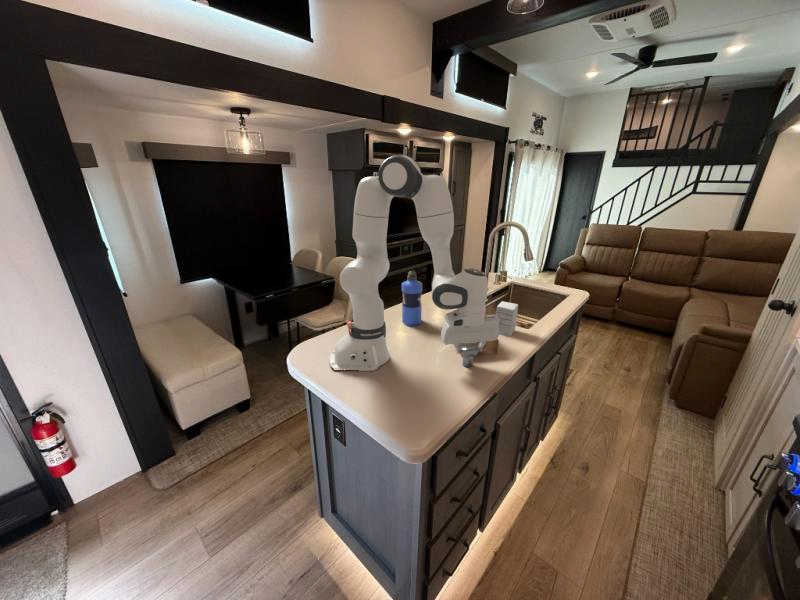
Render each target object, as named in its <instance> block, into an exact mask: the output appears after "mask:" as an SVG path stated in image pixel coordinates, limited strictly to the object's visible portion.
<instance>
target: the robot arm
mask: <svg viewBox="0 0 800 600" xmlns="http://www.w3.org/2000/svg"><path fill="white" fill-rule="evenodd" d="M377 175H378V176H373V175H371V176H366V177H364V178H362V179H360V181H359V183H358V185H357V188H356V194H355V198H354V207H353V218H352V219H353V221H352V233H351V234H352V239H353V240H354V242H355V246H356V251H357V255H356V258H355V259H354V260H352V261H350V262H349V263H347V264H346V265H345V267H344V268H343V270H341V272H340V275H339V284H340V286H341V288H342V289H343V291H345V292H346V293H347V294H348V297H349V299H350V302H351V307H352V317H353V319H352V320H353V321H351V320H349V321H347V323H346V325H347V326H346V327H347V329H348V330H347V331H348V332H347V333H346V334H345V335H344V336H342V338H339V340H337V342H336V345H335V347H334V350H333V351H331V353H330V355H329V362H330V364H329V366H330V365H331V367H332V368H333V369H340V370H341V369H342V370H344V369H345V370H359V371H358V372H361V371H362V372H372V371H376V370H377V369H378V368H379V367H380V366H382V365H384V364H385V363H387V362H388V361H389V359H390V357H391V355H390V352H389V349H388V346H387V341H386V339H387V338H386V337H387V325H386V320H385V305H384V301H383V299H381V297H380V294H379V283H380V282H382V281H383V280H384V279H385V278H386V276H387V274H388V273H389V270H390V266H391V265H390V261H389V258H388V249H387V248H388V247H387V236H388V234H387V233H388V224H389V218H390V217H389V215H390V207H391V202H392V199H393V198H395V197H396V198H406V199H411V200H412V201H413V203H414V207H415V212H416V219H417V223H418V227H419V230H420V235H421V236H422V239H423V240H424V241H425V242H426V243H427V245H428V247H429V248H430V252H431V257H432V264H433V277H432V279H431V299H432V302H433V304H434V305H435V307H437V308H439V309H441V310H452V311H450V312H447V313H445V314H444V320H445V321H444V322H443V323H442V325H441V330H440V331H441V332H440V339H441V342H442V343H443V344H444V345H453V344H454V345H453V346H454V347H455V353H456V354H458V355H460V354H461V349H460V347H457V346H459V343H468V342H479V341H481V342H480V344H479V345H476V346H477V347H478V352H480V351H482V347H483V346H484V345H485V344H486V341H489V340H496V339H499V335H500V334H499V326H498V324H499V320H500V318H499V316H497V315H496V313H493V314H486V308H487V307H486V302H487V301H486V300H487V297H488V278H487V276H486V274H485V273H484V272H483V271H481V270H479V269H475V268H465V269H464V270H462V271H461V272H459V273H457V274H456V272H455V271H454V269H453V264H452V258H451V251H450V250H451V249H450V247H451V246H450V245H451V240H452V238H453V235H454V228H455V217H454V216H455V215H454V207H453V202H452V197H451V193H450V189H449V187H448V184H447V181H446V179H445V178H444V177H443V176H441V175H438V174H428V175H425V174H423V173H422V168H421V166H420V165H419V163H418V162H417V161H416V160H415V159H413V158H412V157H410V156H408V155H404V154H403V155H400V154H396V155H392V156H389V157H388V158H385V160H384V161H382V163H381V165H380V167H379V169H378V174H377ZM458 308H459V309H458ZM333 353H335V354H333ZM329 362H328V363H329ZM333 364H334V365H333ZM331 367H330V368H331ZM332 368H331V369H332ZM333 369H332V370H333Z"/></svg>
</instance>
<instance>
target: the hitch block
mask: <svg viewBox="0 0 800 600" xmlns="http://www.w3.org/2000/svg"><path fill="white" fill-rule="evenodd" d="M480 342H481V341H479V342H468V343H459V346H457V347H460V346H461V345H462V344H473V345H475V346H476V345H479V344H480ZM499 342H500V340H499V338H497V339H496V340H489V341H486V344H485V345H484V346H483V347H482V351H480V352H478V354H477V355H475V356H473V358H474V357H481V356H490V355H497V354H498V349H499V344H500V343H499ZM452 345H453V346H454V344H452ZM459 355H460V356H461V358H462V359H463V355H462V354H459Z"/></svg>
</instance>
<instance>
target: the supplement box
mask: <svg viewBox="0 0 800 600" xmlns="http://www.w3.org/2000/svg"><path fill="white" fill-rule="evenodd" d="M518 310H519V303H518V304H517V303H513V302H509V301H503V300H502V301H501V302H500V303H499V304H498V305H497V306H496V312H495V314H496V315H497V316H499V318H500V320H499V324H498V326H499V335H503V336H506V337H512V336H513V334H514V332H515V331H516V325H517V317H518Z"/></svg>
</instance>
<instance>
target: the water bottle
mask: <svg viewBox="0 0 800 600" xmlns="http://www.w3.org/2000/svg"><path fill="white" fill-rule="evenodd" d="M407 274H408V275H407V278H406V279H407V280H405V281H403V282H402V283H401V293H402V304H401V308H402V309H401V311H402V312H401V315H402V316H401V320H402V322H403V323H404V324H403V323H402V324H403V325H405V326H408V325H409V327H415V326H416V327H417V326H419V325H421V323H422V311H423V310H422V294H423V293H422V292H423V283H422V282H421V281H418V280H417V279H418V278H417V272H416V271H415V270H414V269H411V270H409V271H408V272H407Z"/></svg>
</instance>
